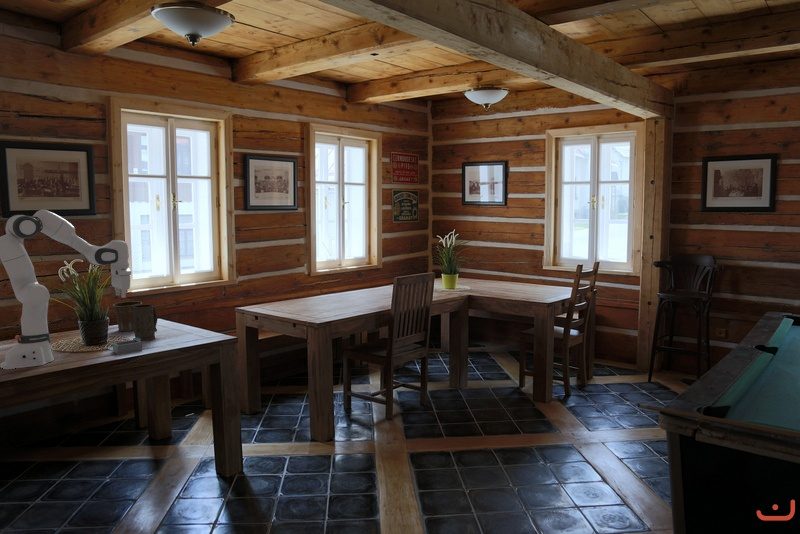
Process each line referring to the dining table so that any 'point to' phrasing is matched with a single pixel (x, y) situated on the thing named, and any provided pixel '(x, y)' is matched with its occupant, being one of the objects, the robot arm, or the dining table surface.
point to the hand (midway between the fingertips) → (120, 296)
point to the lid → (133, 339)
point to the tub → (127, 346)
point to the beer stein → (145, 322)
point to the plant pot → (125, 315)
